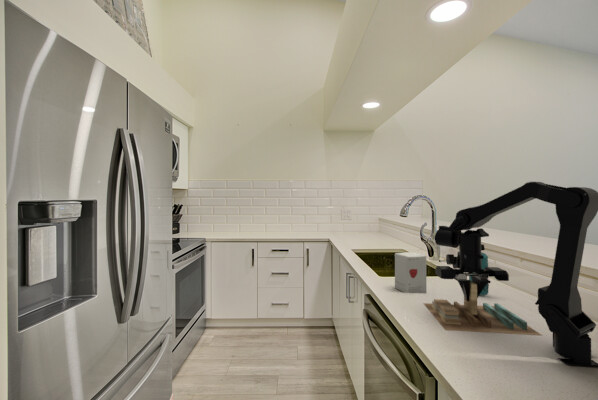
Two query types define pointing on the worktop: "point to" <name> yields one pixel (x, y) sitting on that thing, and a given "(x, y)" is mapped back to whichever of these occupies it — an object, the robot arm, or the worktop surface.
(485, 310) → the rack
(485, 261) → the beverage bottle
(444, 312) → the offcut stack
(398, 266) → the supplement box
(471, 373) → the worktop surface
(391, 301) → the worktop surface
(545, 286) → the robot arm
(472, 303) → the tan rectangular block
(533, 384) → the worktop surface
